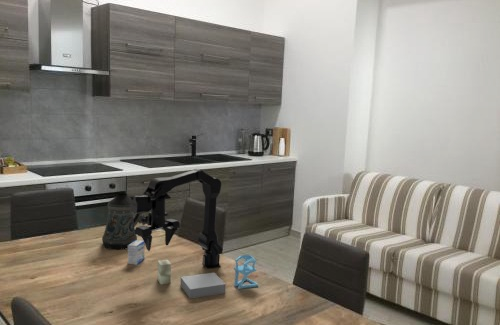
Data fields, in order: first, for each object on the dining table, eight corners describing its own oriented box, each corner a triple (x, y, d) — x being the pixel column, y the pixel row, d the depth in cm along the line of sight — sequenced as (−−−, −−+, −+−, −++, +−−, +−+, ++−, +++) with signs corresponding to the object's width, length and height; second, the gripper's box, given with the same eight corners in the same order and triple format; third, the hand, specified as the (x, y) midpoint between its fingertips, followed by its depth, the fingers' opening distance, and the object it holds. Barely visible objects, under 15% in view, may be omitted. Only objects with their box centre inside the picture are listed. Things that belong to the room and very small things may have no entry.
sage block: (167, 278, 179) (167, 259, 178) (170, 283, 175) (171, 263, 173) (157, 279, 177) (157, 260, 176) (160, 284, 173) (160, 265, 172)
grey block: (213, 281, 179) (214, 272, 178) (225, 294, 168) (225, 284, 168) (180, 286, 173) (180, 277, 172) (189, 299, 162) (190, 289, 162)
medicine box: (136, 265, 191) (137, 246, 190) (127, 264, 192) (127, 244, 191) (144, 258, 199) (144, 240, 198) (135, 257, 200) (135, 239, 199)
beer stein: (94, 247, 211) (94, 196, 207) (118, 235, 229) (118, 188, 226) (125, 252, 206) (125, 200, 203) (146, 240, 225) (147, 192, 221)
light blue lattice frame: (230, 284, 176) (231, 255, 175) (246, 279, 182) (247, 251, 180) (242, 291, 170) (243, 261, 169) (258, 286, 176) (259, 257, 174)
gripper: (163, 202, 187) (163, 238, 189) (126, 210, 173) (126, 248, 175) (181, 207, 180) (180, 244, 182) (143, 216, 166) (143, 255, 168)
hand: (157, 247), depth 177 cm, fingers open, 9 cm apart
